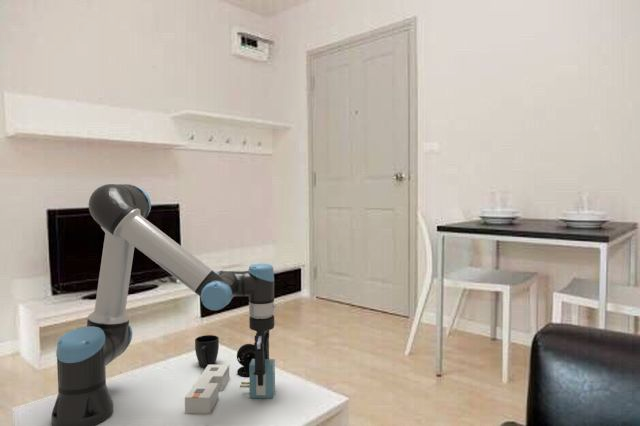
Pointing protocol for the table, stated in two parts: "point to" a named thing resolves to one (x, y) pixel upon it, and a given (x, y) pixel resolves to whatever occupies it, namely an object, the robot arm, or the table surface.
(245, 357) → the webcam
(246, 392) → the table surface
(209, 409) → the power strip
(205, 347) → the mug
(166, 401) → the table surface
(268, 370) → the charger
